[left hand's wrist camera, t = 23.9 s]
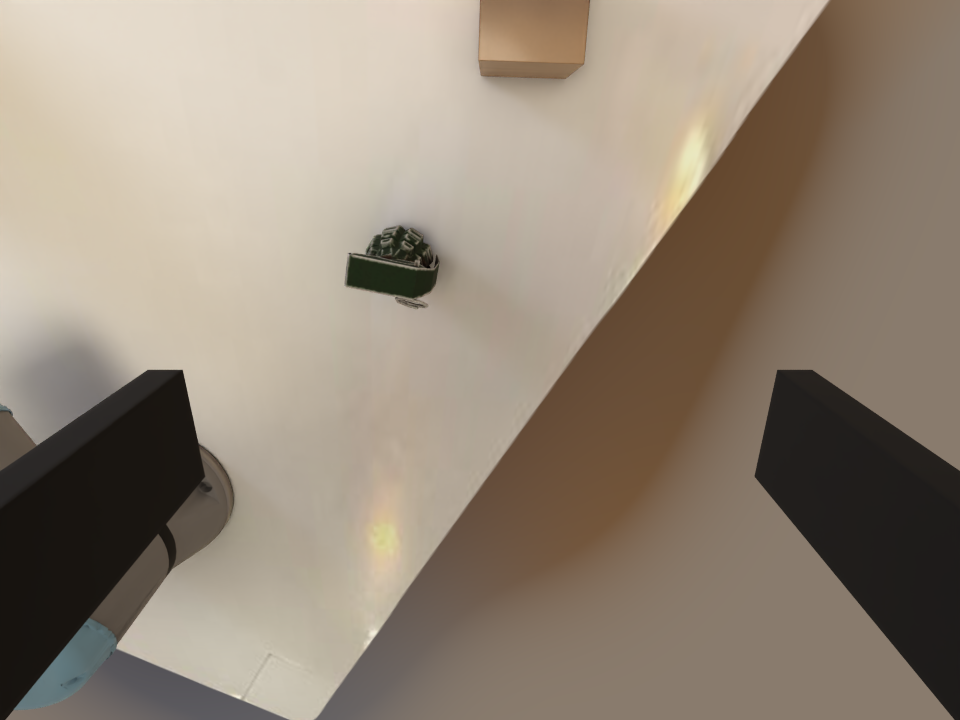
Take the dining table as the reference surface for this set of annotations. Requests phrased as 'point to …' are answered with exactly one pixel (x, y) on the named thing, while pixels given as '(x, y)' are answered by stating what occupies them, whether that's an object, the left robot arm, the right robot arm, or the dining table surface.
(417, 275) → the grenade
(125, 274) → the dining table surface
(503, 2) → the block
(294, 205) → the dining table surface
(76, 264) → the dining table surface
